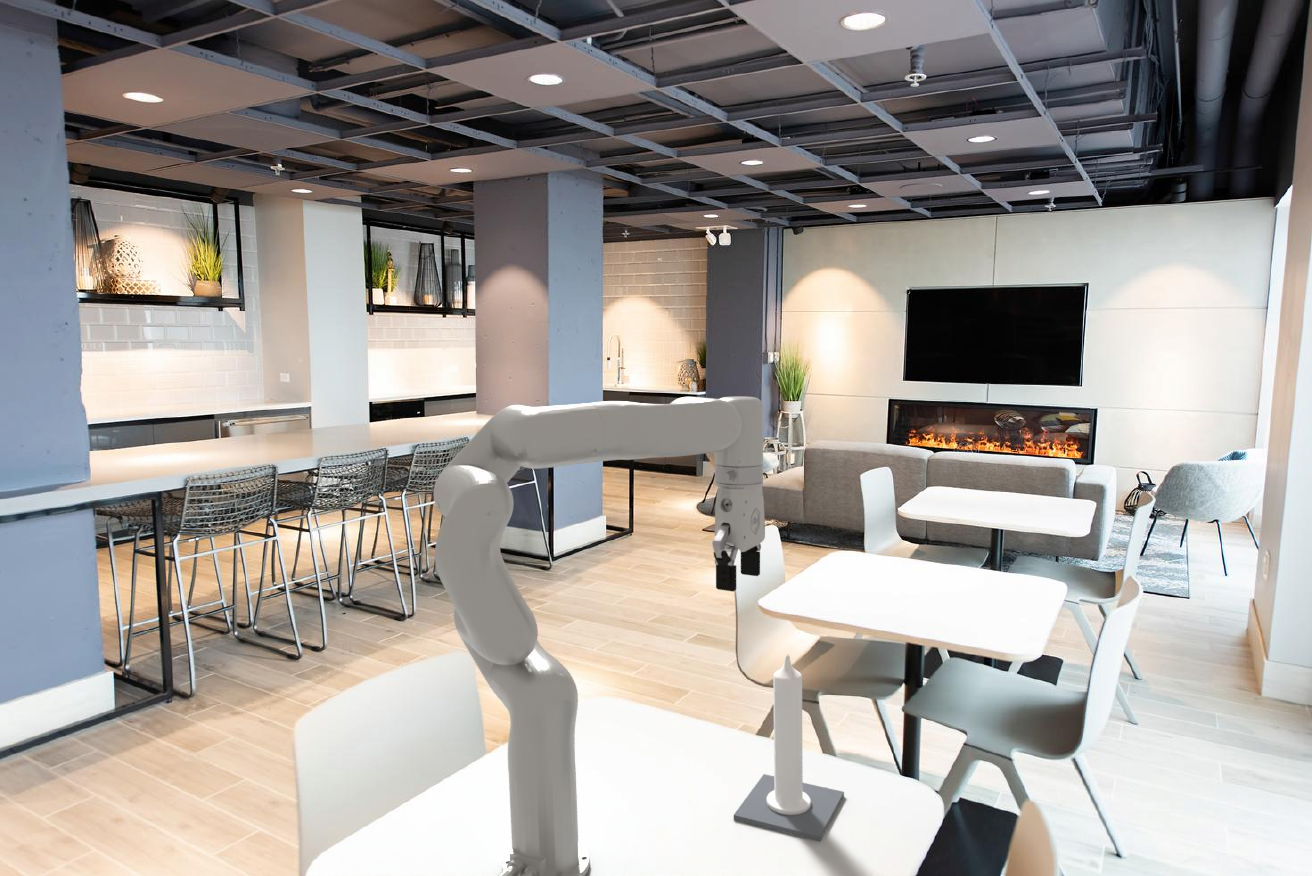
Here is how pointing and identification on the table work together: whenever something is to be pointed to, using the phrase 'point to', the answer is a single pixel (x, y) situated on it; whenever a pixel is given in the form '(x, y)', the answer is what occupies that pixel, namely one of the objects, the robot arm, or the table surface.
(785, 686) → the candle
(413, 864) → the table surface
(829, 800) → the mat
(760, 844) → the table surface
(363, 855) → the table surface
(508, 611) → the robot arm
